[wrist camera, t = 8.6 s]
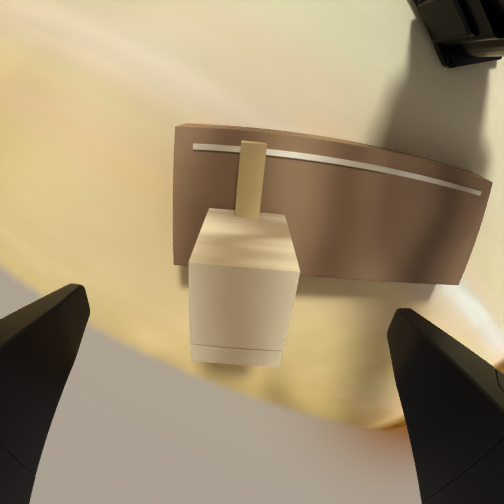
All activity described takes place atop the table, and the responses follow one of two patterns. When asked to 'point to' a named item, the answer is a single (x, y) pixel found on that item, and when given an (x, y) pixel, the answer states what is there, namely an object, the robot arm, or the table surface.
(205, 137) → the walnut board
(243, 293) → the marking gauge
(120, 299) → the table surface
